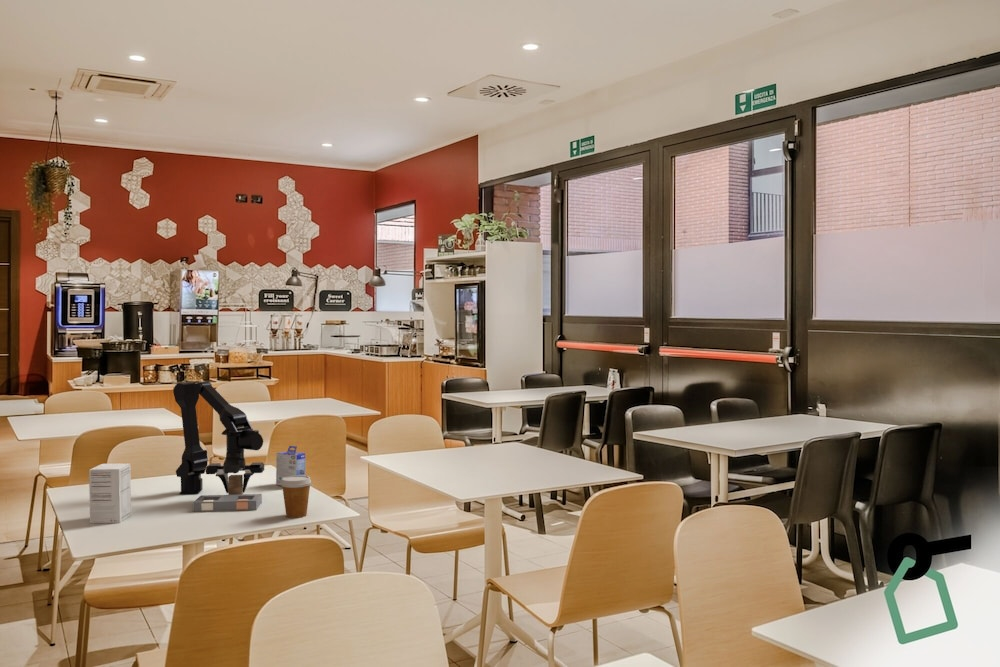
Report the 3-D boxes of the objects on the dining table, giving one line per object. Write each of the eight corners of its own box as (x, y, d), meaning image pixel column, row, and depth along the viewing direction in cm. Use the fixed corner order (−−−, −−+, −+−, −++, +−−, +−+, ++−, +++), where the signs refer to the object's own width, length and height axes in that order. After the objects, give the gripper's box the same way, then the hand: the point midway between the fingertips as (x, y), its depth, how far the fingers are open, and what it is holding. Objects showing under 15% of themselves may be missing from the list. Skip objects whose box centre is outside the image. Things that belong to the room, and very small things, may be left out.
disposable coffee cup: (299, 510, 264) (299, 473, 264) (317, 515, 258) (317, 477, 258) (274, 516, 257) (274, 478, 257) (293, 521, 251) (292, 482, 251)
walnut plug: (228, 500, 278) (228, 477, 278) (231, 497, 282) (230, 474, 282) (240, 500, 279) (240, 476, 279) (242, 497, 283) (242, 474, 283)
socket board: (192, 511, 262) (192, 502, 262) (200, 504, 273) (200, 494, 272) (256, 510, 265) (256, 500, 265) (261, 502, 275) (261, 493, 275)
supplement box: (102, 515, 257) (101, 463, 257) (132, 515, 258) (131, 462, 258) (89, 523, 248) (88, 469, 247) (120, 523, 249) (119, 468, 248)
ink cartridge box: (306, 485, 303) (306, 446, 302) (296, 487, 298) (296, 448, 297) (285, 482, 307) (284, 444, 307) (275, 485, 302) (275, 446, 301)
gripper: (201, 452, 271) (202, 499, 272) (258, 451, 273) (259, 497, 274) (209, 447, 282) (209, 491, 283) (264, 446, 284) (264, 490, 285)
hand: (235, 492), depth 281 cm, fingers open, 5 cm apart
